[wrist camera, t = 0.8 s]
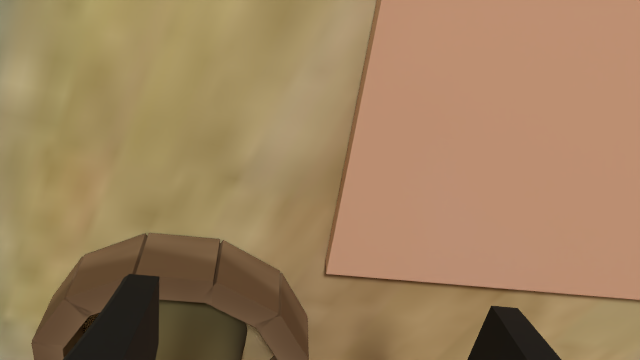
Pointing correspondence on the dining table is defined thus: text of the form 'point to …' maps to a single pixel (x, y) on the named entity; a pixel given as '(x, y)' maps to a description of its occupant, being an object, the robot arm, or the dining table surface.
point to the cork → (198, 332)
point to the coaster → (496, 148)
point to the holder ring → (178, 290)
